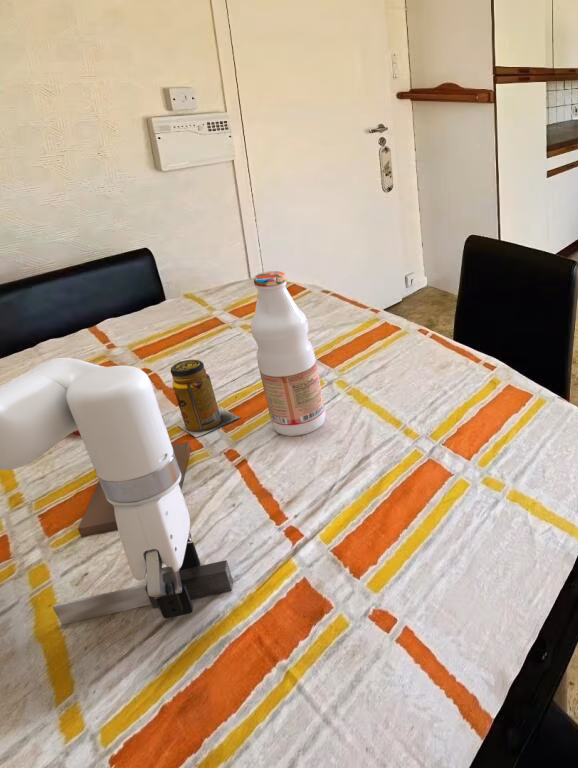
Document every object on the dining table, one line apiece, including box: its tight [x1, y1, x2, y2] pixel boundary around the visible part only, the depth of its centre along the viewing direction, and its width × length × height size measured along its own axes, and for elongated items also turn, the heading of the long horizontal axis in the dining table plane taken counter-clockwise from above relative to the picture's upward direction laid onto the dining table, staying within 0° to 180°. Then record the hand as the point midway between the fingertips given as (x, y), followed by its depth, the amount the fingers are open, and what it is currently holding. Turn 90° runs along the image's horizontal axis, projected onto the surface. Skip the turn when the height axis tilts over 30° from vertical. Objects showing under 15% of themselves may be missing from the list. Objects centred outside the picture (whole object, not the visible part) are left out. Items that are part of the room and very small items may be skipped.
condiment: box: [170, 359, 241, 438], centre depth 111 cm, size 7×8×12 cm
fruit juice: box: [250, 270, 326, 437], centre depth 107 cm, size 9×9×28 cm
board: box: [77, 441, 192, 537], centre depth 97 cm, size 12×19×2 cm, turn 18°
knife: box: [52, 559, 234, 626], centre depth 76 cm, size 19×2×3 cm, turn 108°
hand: (183, 590), depth 77 cm, fingers open, 6 cm apart
